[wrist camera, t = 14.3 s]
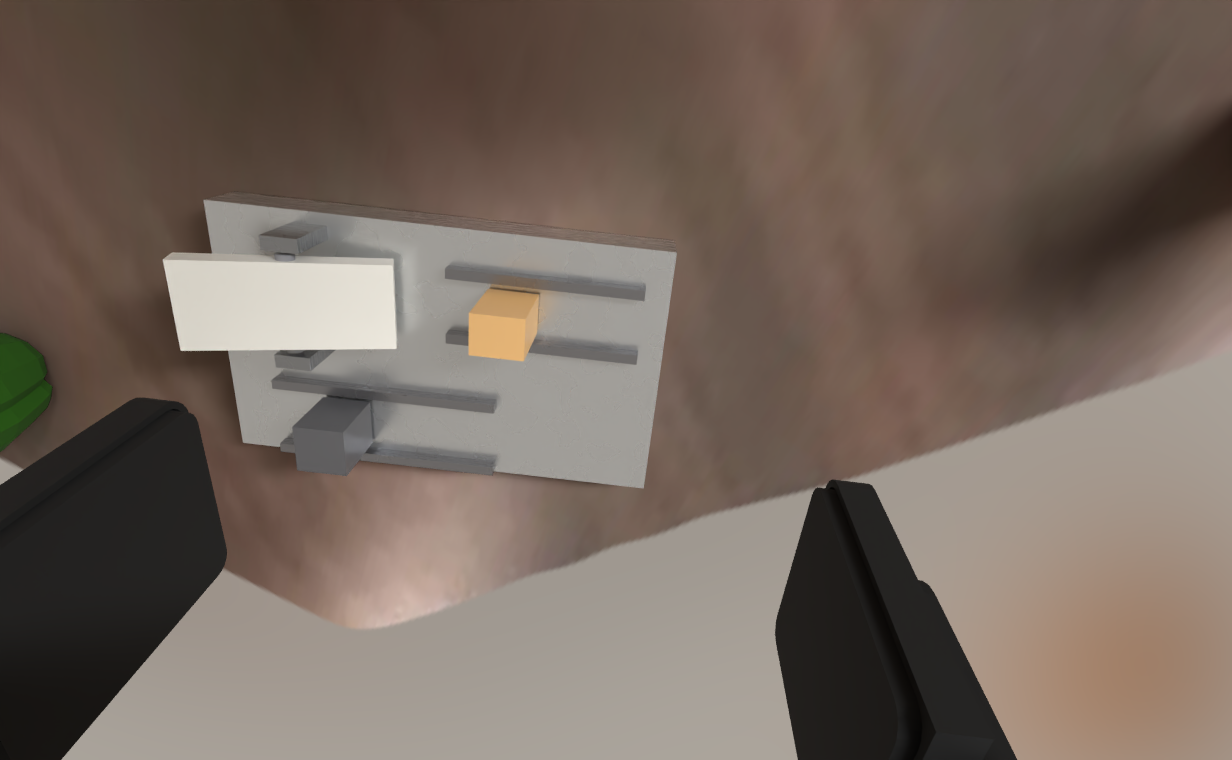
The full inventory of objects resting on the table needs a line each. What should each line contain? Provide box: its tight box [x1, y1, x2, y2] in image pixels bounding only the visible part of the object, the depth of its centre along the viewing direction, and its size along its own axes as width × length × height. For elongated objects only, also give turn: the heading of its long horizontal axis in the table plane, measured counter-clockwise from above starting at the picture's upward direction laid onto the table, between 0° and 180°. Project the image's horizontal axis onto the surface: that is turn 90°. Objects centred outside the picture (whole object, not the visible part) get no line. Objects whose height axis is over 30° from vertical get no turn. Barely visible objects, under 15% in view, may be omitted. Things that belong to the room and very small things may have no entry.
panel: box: [204, 192, 677, 488], centre depth 40 cm, size 16×27×6 cm, turn 84°
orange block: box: [469, 289, 539, 361], centre depth 37 cm, size 2×3×4 cm
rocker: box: [163, 252, 397, 353], centre depth 36 cm, size 6×11×1 cm, turn 84°
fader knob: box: [292, 397, 373, 476], centre depth 40 cm, size 3×3×4 cm
